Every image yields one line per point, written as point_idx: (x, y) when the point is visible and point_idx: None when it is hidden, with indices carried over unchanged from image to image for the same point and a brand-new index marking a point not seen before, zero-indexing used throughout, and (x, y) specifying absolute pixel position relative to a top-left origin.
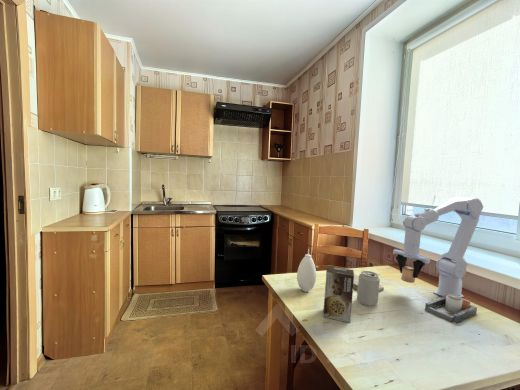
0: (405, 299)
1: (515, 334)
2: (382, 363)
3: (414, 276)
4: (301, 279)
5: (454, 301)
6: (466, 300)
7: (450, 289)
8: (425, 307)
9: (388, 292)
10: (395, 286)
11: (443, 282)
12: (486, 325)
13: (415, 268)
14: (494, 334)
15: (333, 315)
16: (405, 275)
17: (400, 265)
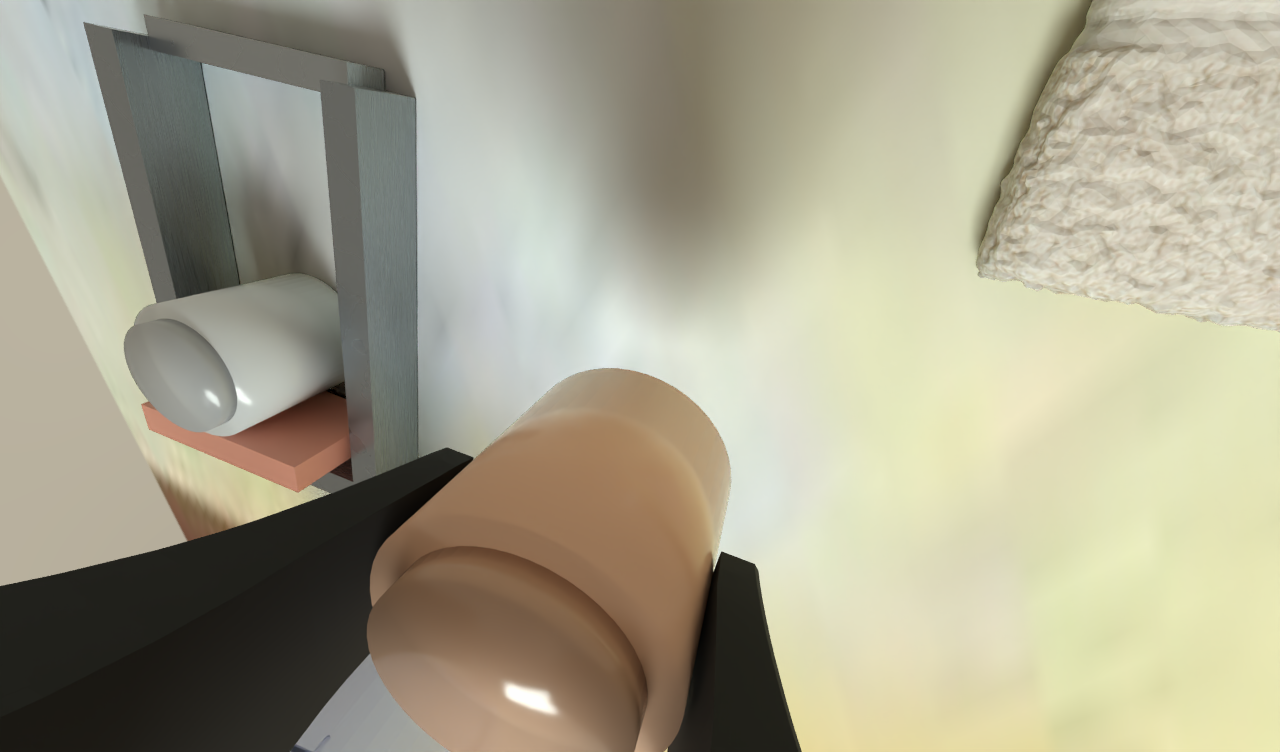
0: (642, 197)
1: (44, 261)
2: None
3: (429, 459)
4: None
5: (171, 301)
6: (159, 415)
7: None
8: (395, 94)
9: (885, 240)
10: (849, 531)
11: (386, 689)
12: (130, 247)
13: (182, 573)
14: (40, 120)
15: None
16: (595, 429)
17: (738, 748)
